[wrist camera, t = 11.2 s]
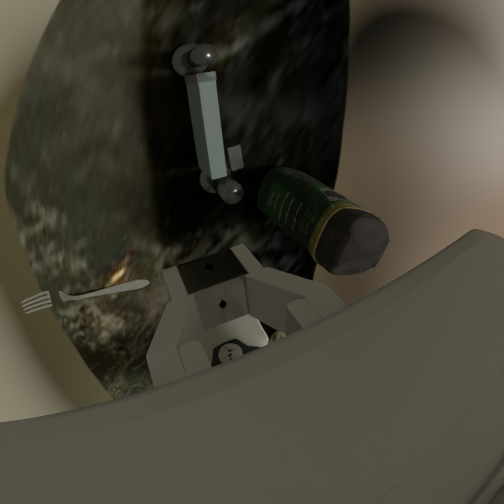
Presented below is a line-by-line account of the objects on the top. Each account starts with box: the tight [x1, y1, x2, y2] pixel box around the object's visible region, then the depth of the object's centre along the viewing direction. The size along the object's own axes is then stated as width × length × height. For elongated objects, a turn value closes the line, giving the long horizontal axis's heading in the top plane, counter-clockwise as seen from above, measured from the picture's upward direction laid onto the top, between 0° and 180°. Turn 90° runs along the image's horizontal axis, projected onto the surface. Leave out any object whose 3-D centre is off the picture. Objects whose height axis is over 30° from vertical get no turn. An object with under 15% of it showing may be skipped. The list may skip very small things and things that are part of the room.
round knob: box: [172, 43, 217, 76], centre depth 25 cm, size 4×4×6 cm
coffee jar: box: [257, 167, 389, 275], centre depth 37 cm, size 10×8×19 cm
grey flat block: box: [184, 71, 227, 180], centre depth 30 cm, size 12×2×6 cm, turn 5°
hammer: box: [199, 139, 244, 204], centre depth 34 cm, size 7×5×6 cm
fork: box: [21, 280, 149, 314], centre depth 37 cm, size 3×24×2 cm, turn 83°
